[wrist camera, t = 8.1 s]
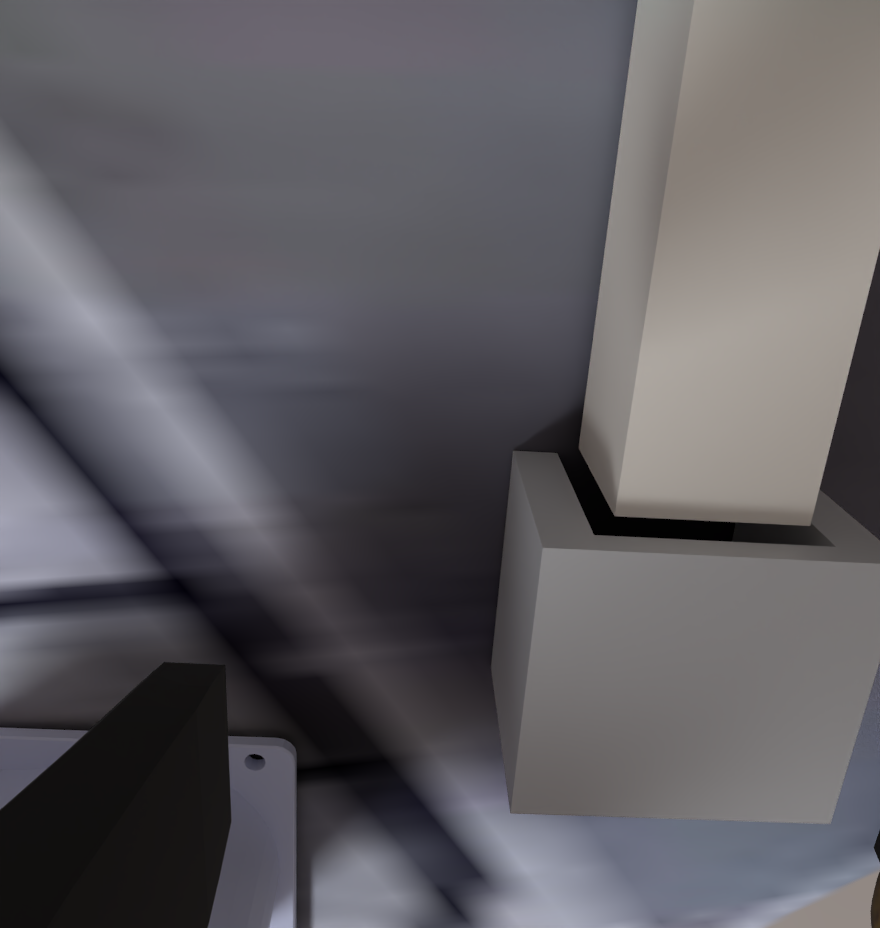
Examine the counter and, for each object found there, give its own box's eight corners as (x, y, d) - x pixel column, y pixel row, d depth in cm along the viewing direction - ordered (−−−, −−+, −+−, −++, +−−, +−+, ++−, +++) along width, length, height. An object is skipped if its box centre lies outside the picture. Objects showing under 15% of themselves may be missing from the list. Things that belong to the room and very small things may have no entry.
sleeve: (491, 667, 20) (510, 813, 16) (513, 450, 18) (542, 547, 14) (741, 678, 21) (830, 824, 16) (791, 465, 19) (908, 565, 14)
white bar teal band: (542, 445, 18) (579, 536, 14) (620, -225, 14) (707, -391, 9) (773, 458, 18) (878, 550, 14) (921, -198, 14) (1137, -348, 10)
